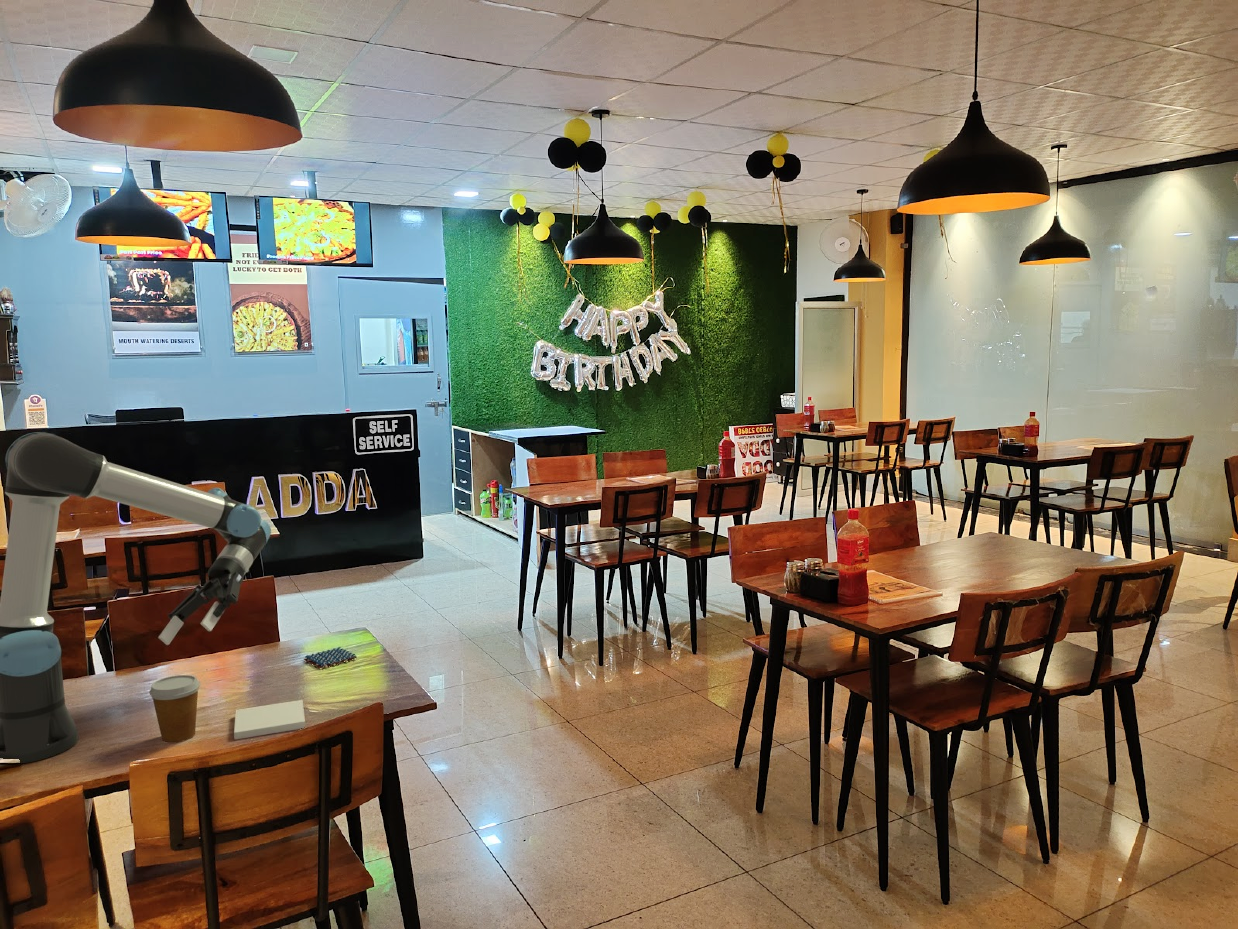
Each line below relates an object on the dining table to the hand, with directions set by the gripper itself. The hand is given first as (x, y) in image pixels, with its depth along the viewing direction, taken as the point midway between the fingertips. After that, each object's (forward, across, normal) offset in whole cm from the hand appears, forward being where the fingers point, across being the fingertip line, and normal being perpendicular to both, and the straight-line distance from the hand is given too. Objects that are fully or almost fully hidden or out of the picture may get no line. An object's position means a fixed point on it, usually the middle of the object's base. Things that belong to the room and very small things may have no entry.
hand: (184, 634), depth 192 cm
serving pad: (+11, -13, -22) cm, 28 cm away
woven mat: (-22, 0, -38) cm, 44 cm away
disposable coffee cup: (+19, -1, -12) cm, 22 cm away
